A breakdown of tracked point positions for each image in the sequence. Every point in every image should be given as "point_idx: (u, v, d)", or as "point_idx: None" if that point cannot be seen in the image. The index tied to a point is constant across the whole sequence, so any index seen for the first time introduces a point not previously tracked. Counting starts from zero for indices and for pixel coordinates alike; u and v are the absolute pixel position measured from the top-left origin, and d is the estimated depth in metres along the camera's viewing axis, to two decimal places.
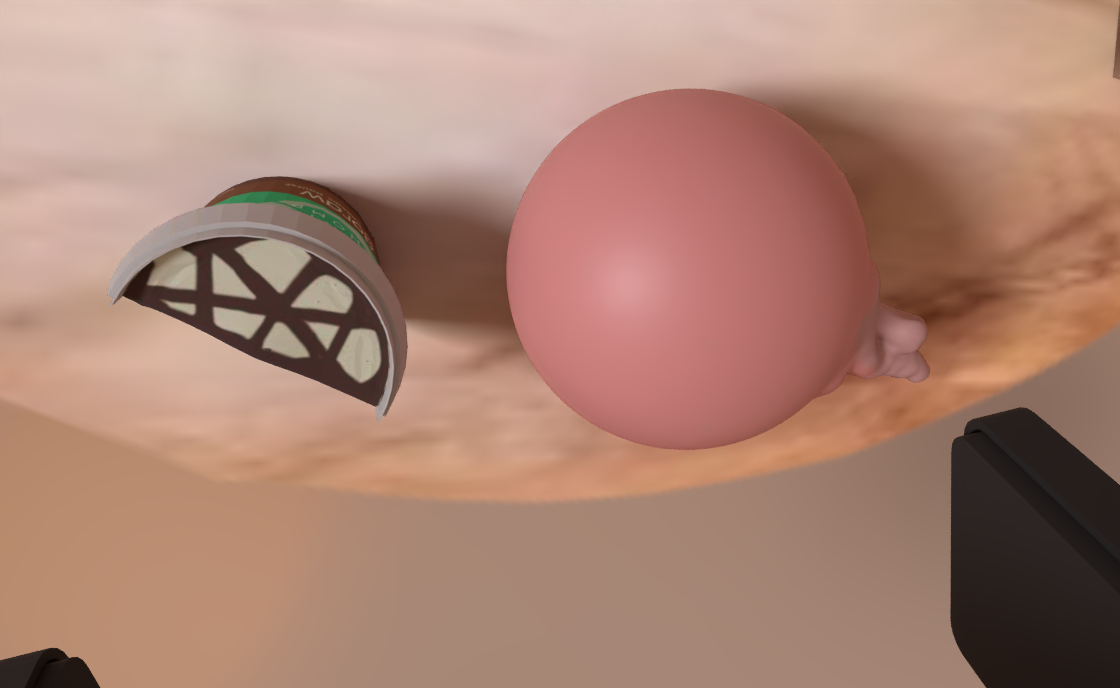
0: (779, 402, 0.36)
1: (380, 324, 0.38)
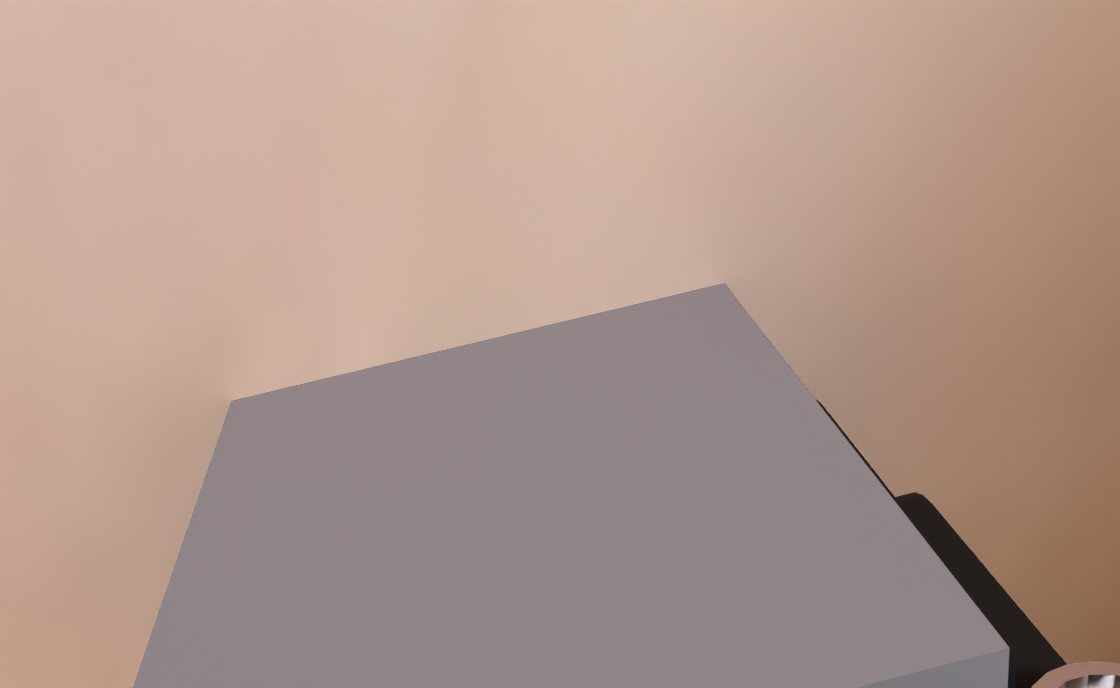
0: None
1: None
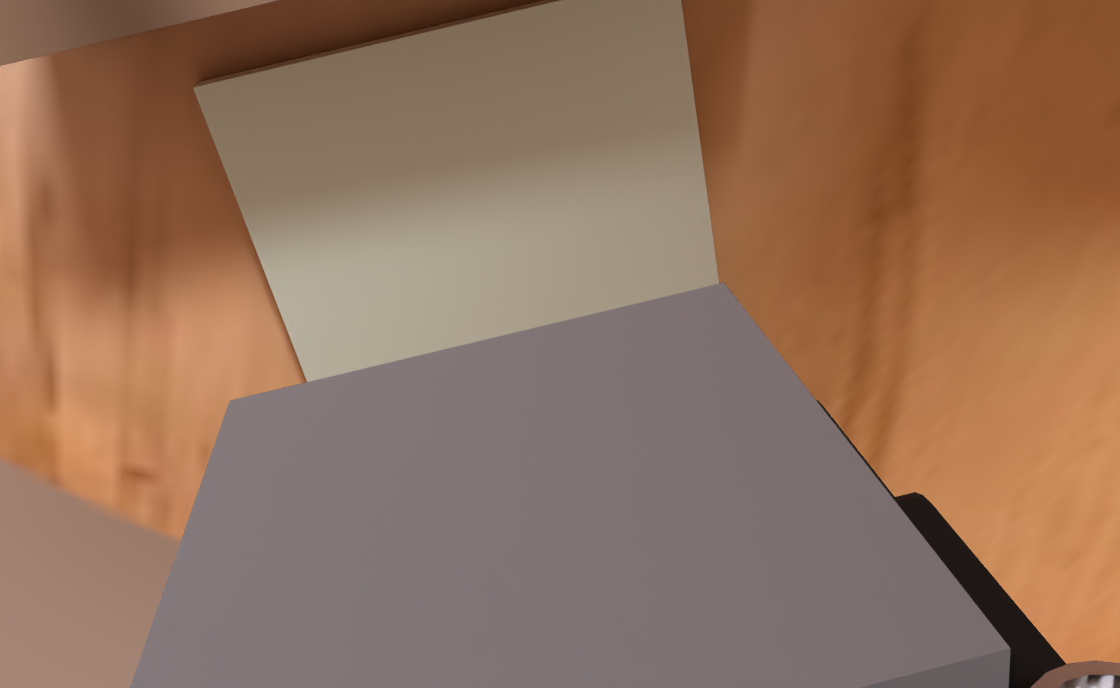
0: None
1: None
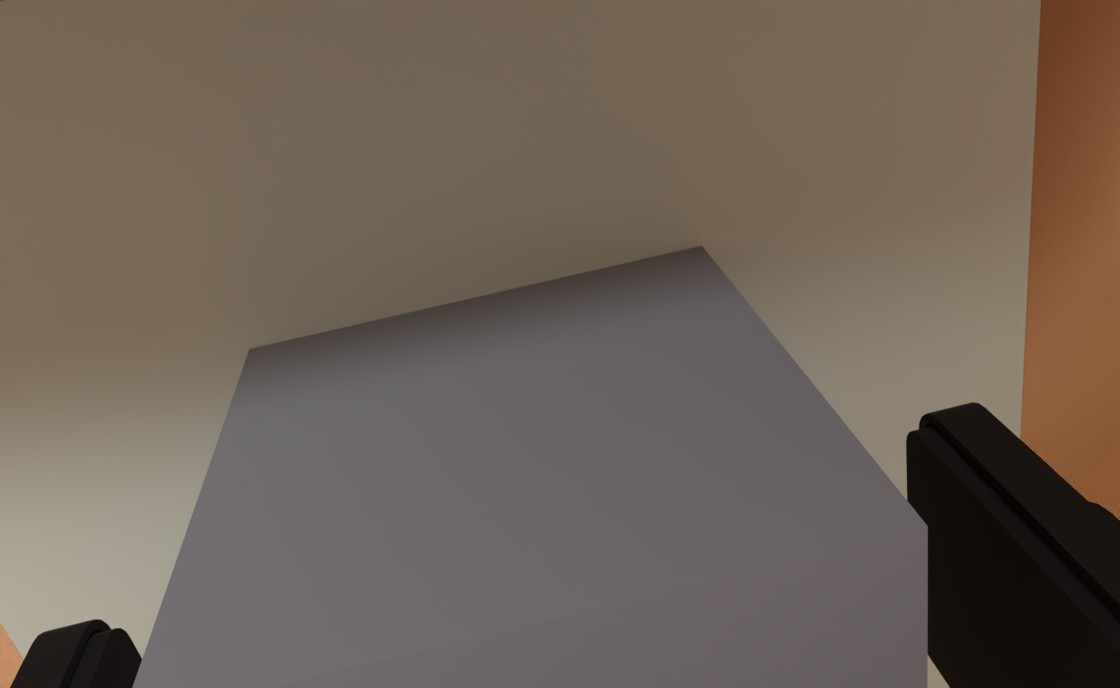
0: None
1: None
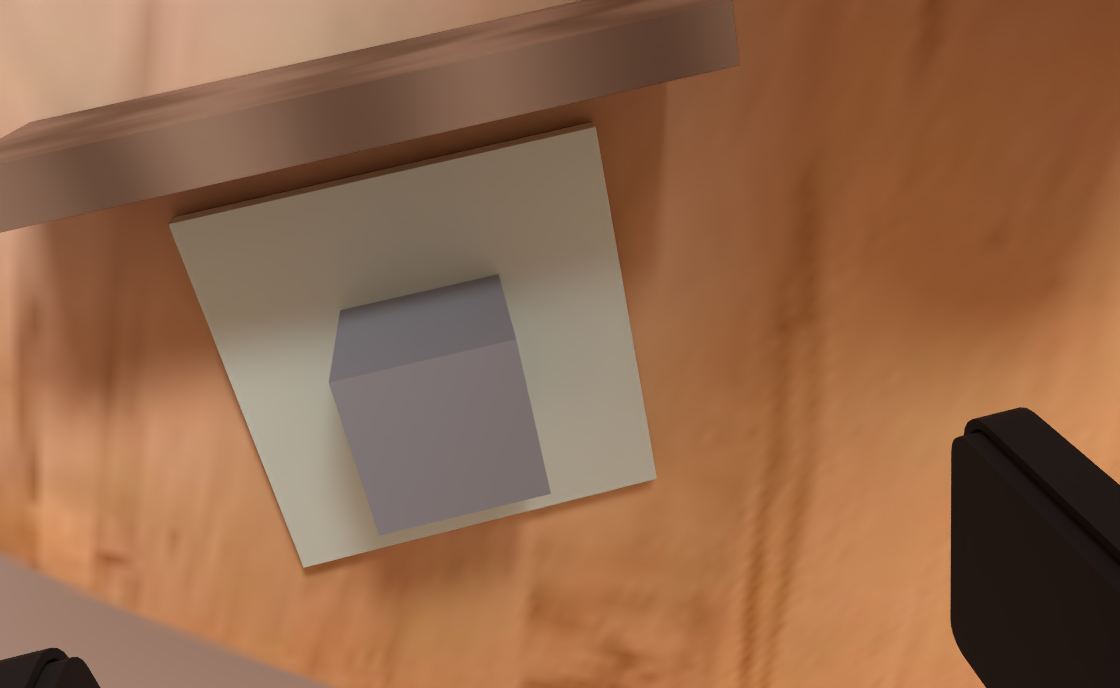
0: None
1: None
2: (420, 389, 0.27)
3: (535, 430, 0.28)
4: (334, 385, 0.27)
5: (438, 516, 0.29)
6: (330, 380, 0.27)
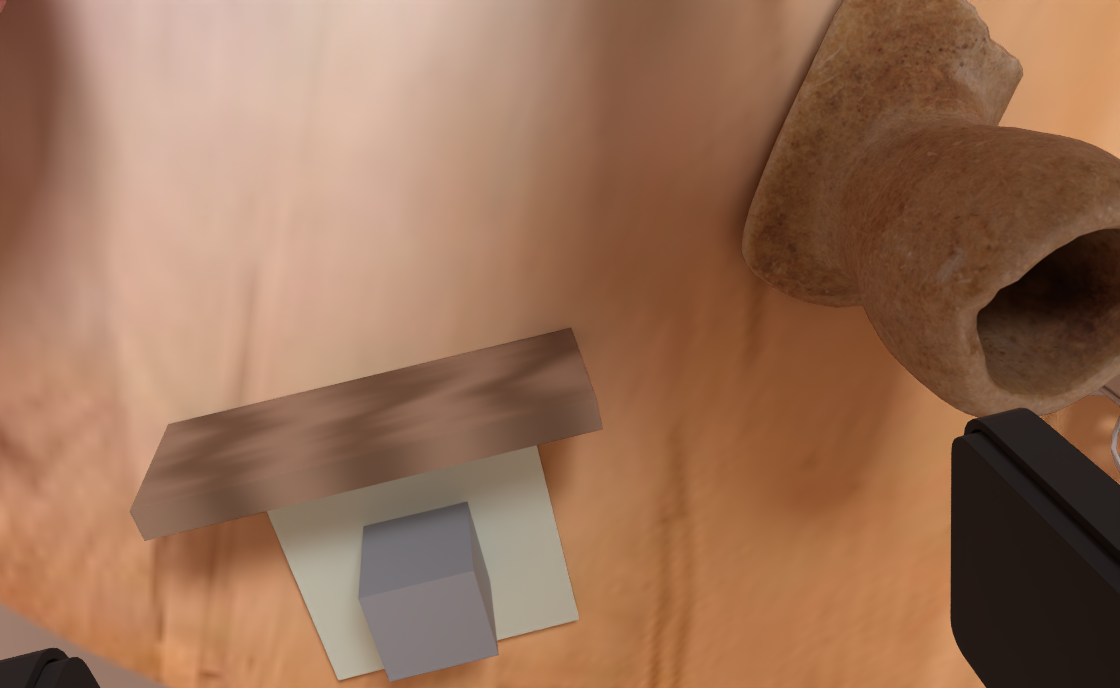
0: None
1: None
2: (414, 600, 0.44)
3: (487, 619, 0.45)
4: (361, 599, 0.43)
5: (427, 670, 0.46)
6: (359, 596, 0.43)
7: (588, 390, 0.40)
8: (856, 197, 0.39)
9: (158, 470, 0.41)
